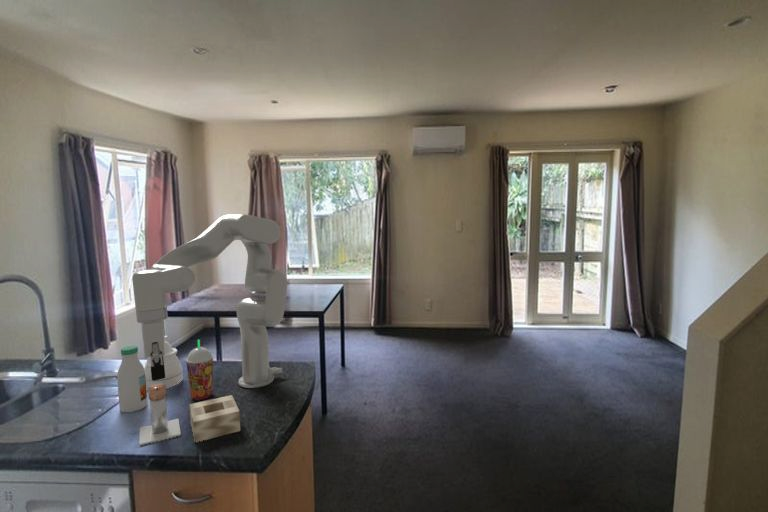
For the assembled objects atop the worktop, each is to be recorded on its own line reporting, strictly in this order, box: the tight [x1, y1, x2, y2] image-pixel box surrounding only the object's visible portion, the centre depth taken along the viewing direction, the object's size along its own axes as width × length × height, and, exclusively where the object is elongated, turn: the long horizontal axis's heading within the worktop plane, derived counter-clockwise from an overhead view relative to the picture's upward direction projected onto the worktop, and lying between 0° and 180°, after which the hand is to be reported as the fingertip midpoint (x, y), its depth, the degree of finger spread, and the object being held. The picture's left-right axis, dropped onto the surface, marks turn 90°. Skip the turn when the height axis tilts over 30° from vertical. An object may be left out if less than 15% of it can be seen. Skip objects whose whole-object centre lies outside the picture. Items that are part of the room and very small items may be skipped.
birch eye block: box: [188, 394, 241, 443], centre depth 118 cm, size 12×12×6 cm
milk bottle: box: [116, 345, 148, 413], centre depth 130 cm, size 8×8×20 cm
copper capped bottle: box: [147, 384, 169, 434], centre depth 115 cm, size 4×4×13 cm
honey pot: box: [143, 335, 184, 389], centre depth 149 cm, size 13×13×18 cm
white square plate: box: [138, 418, 182, 446], centre depth 116 cm, size 10×10×1 cm
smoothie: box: [185, 339, 214, 401], centre depth 138 cm, size 8×8×20 cm
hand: (158, 372), depth 115 cm, fingers open, 9 cm apart
